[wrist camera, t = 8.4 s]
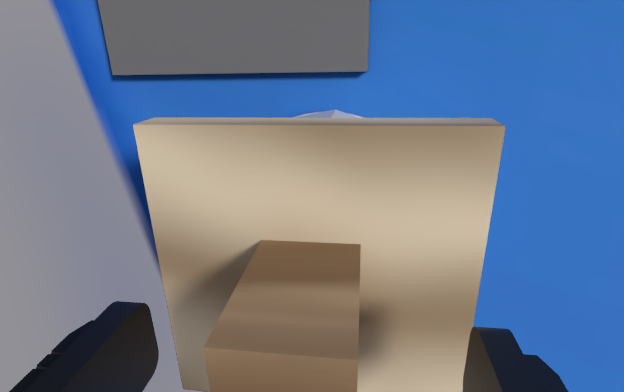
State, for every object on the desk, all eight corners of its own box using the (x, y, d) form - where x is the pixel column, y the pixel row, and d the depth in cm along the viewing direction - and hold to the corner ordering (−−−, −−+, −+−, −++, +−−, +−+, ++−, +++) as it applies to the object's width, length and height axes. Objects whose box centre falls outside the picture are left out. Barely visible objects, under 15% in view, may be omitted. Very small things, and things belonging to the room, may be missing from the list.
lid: (154, 117, 12) (-15, 171, 7) (490, 118, 11) (617, 186, 5) (196, 364, 15) (108, 528, 10) (450, 387, 14) (501, 588, 9)
